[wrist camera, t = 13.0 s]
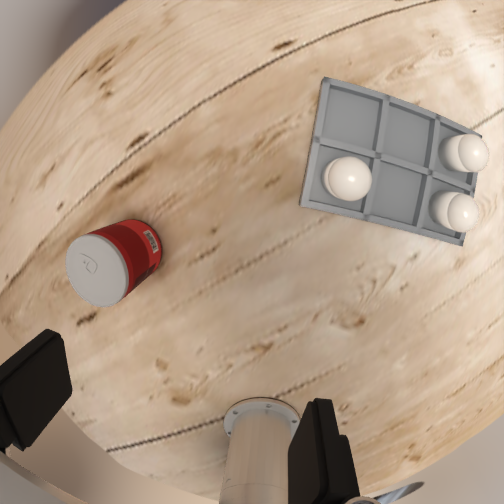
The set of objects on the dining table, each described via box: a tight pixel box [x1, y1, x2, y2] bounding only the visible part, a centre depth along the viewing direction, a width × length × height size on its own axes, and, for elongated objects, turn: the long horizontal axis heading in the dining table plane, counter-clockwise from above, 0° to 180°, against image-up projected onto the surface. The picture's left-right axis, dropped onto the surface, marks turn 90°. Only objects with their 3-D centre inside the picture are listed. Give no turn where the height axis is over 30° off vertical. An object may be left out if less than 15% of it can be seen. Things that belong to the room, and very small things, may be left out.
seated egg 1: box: [438, 134, 489, 172], centre depth 28 cm, size 5×5×7 cm
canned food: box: [66, 220, 162, 307], centre depth 33 cm, size 8×8×11 cm
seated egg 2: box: [428, 190, 479, 233], centre depth 30 cm, size 5×5×7 cm
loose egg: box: [321, 156, 372, 201], centre depth 30 cm, size 5×5×7 cm
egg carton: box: [299, 77, 482, 246], centre depth 32 cm, size 16×23×2 cm
